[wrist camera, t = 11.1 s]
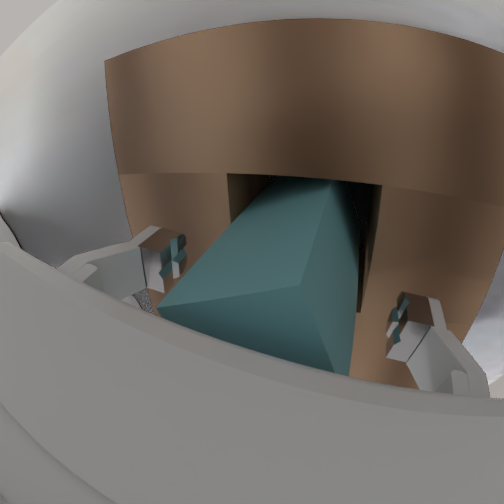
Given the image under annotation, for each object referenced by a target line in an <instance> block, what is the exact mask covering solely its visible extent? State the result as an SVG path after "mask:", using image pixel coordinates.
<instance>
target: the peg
mask: <svg viewBox="0 0 504 504" xmlns="http://www.w3.org/2000/svg"><path fill="white" fill-rule="evenodd" d="M358 269H359V218H358V214H357V211H356V208H355V205H354V202H353V198H352V195H351V192H350V189H349V186H348V184H347V181H343V180H333V179H322V178H310V177H296V176H278V177H275V178H274V179H273V180H272V181H271V182H270V183H269V184H268V185H267V186H266V187H265V188H264V189H263V191H262V192H261V193H260V194H259V195H258V196H257V197H256V198H255V199H254V200H253V201H252V202H251V203H250V204H249V205H248V206H247V207H246V208H245V209H244V211H243V212H242V213H241V214H240V215H239V216H238V217H237V218H236V219H235V220H234V221H233V222H232V223H231V224H230V226H229V227H228V228H227V229H226V230H225V231H224V232H223V233H222V234H221V235H220V236H219V237H218V239H217V240H216V241H215V242H214V243H213V244H212V245H211V246H210V247H209V248H208V249H207V251H206V252H205V253H204V254H203V255H202V256H201V257H200V258H199V259H198V261H197V262H196V263H195V264H194V265H193V266H192V267H191V268H190V269H189V271H188V272H187V273H186V274H185V275H184V276H183V277H182V278H181V280H180V281H179V282H178V283H177V284H176V285H175V286H174V287H173V289H172V290H171V291H170V292H169V293H168V294H167V295H166V297H165V298H164V299H163V300H162V301H161V302H160V303H159V305H158V306H157V307H156V309H157V310H158V312H159V313H160V315H161V316H162V318H164V319H166V320H169V321H171V322H174V323H176V324H179V325H182V326H184V327H187V328H189V329H192V330H195V331H198V332H200V333H203V334H206V335H209V336H212V337H214V338H217V339H220V340H223V341H226V342H229V343H232V344H235V345H238V346H241V347H244V348H247V349H250V350H254V351H257V352H260V353H263V354H267V355H270V356H273V357H277V358H280V359H284V360H287V361H291V362H294V363H298V364H301V365H305V366H309V367H313V368H317V369H320V370H324V371H328V372H333V373H337V374H341V375H345V376H349V372H350V365H351V357H352V348H353V339H354V329H355V318H356V305H357V290H358Z"/></svg>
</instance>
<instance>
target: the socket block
mask: <svg viewBox="0 0 504 504" xmlns="http://www.w3.org/2000/svg"><path fill="white" fill-rule="evenodd" d="M105 76H106V88H107V99H108V108H109V117H110V124H111V132H112V139H113V145H114V152H115V158H116V163H117V169H118V174H119V180H120V185H121V190H122V195H123V199H124V204H125V208H126V213H127V217H128V221H129V226H130V230H131V234H132V238H134V237H135V236H137V235H138V234H139V233H141V232H142V231H143V230H145V229H146V228H147V227H149V226H157V227H161V228H164V229H168V230H171V231H175V232H178V233H182V234H184V235H185V236H186V243H187V245H186V246H185V247H184V248H183V249H184V250H185V252H186V254H187V264H186V267H185V270H184V272H183V273H182V274H181V276H180V277H177V278H174V279H173V281H174V284H173V285H172V286H171V287H170V288H169V289H168V290H167V291H166V292H165V293H162V292H159V291H156V290H153V289H150V288H147V287H146V288H147V291H148V294H149V297H150V300H151V303H152V306H153V309H154V312H155V315H156V316H159V317H161V318H162V316H161V315H160V313H159V312H158V310H157V309H156V307H157V306H158V305H159V303H160V302H161V301H162V300H163V299H164V298H165V297H166V295H167V294H168V293H169V292H170V291H171V290H172V289H173V287H174V286H175V285H176V284H177V283H178V282H179V281H180V280H181V278H182V277H183V276H184V275H185V274H186V273H187V272H188V271H189V269H190V268H191V267H192V266H193V265H194V264H195V263H196V262H197V261H198V259H199V258H200V257H201V256H202V255H203V254H204V253H205V252H206V251H207V249H208V248H209V247H210V246H211V245H212V244H213V243H214V242H215V241H216V240H217V239H218V237H219V236H220V235H221V234H222V233H223V232H224V231H225V230H226V229H227V228H228V227H229V226H230V224H231V223H232V222H233V221H234V220H235V219H236V218H237V217H238V216H239V215H240V214H241V213H242V212H243V211H244V209H245V208H246V207H247V206H248V205H249V204H250V203H251V202H252V201H253V200H254V199H255V198H256V197H257V196H258V195H259V194H260V193H261V192H262V191H263V189H264V188H265V187H266V186H267V185H268V184H269V183H270V181H269V175H281V176H296V177H310V178H322V179H333V180H343V181H352V182H361V183H369V184H371V187H370V197H369V206H368V215H367V223H366V230H365V238H364V245H363V249H359V269H358V290H357V305H356V318H355V329H354V339H353V348H352V357H351V365H350V372H349V376H350V377H354V378H359V379H363V380H368V381H373V382H378V383H383V384H388V385H394V386H400V387H406V388H412V389H418V390H420V389H419V387H418V385H417V383H416V381H415V379H414V377H413V375H412V373H411V371H410V370H409V368H408V366H407V364H406V363H407V362H403V361H398V360H394V359H390V358H386V342H387V341H388V339H389V338H388V337H387V335H386V324H387V321H388V317H389V315H390V313H391V310H392V309H393V308H395V307H397V298H398V296H399V294H400V293H401V292H402V291H404V292H408V293H412V294H416V295H421V296H425V297H430V298H435V299H438V300H439V301H440V304H441V307H442V311H443V315H444V319H445V323H446V328H447V330H449V331H451V332H452V333H453V334H454V335H455V337H456V338H457V339H458V340H459V341H460V343H461V344H462V342H463V340H464V338H465V337H466V335H467V333H468V331H469V329H470V327H471V325H472V323H473V321H474V319H475V317H476V315H477V313H478V311H479V309H480V307H481V305H482V303H483V300H484V298H485V296H486V294H487V291H488V289H489V286H490V284H491V282H492V279H493V277H494V274H495V271H496V269H497V266H498V263H499V261H500V258H501V255H502V252H503V249H504V54H503V53H501V52H498V51H496V50H493V49H491V48H488V47H485V46H482V45H479V44H476V43H473V42H470V41H467V40H464V39H461V38H457V37H454V36H450V35H446V34H442V33H438V32H434V31H430V30H425V29H420V28H415V27H410V26H404V25H398V24H391V23H383V22H375V21H364V20H351V19H323V18H313V19H284V20H271V21H260V22H252V23H244V24H237V25H230V26H224V27H219V28H213V29H208V30H203V31H199V32H194V33H190V34H186V35H182V36H178V37H174V38H170V39H167V40H163V41H160V42H156V43H153V44H150V45H147V46H144V47H141V48H138V49H135V50H132V51H129V52H126V53H124V54H121V55H118V56H116V57H113V58H111V59H108V60H106V61H105Z"/></svg>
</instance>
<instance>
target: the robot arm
mask: <svg viewBox="0 0 504 504" xmlns="http://www.w3.org/2000/svg"><path fill="white" fill-rule="evenodd" d="M186 245H187V243H186V236H185V235H184V234H182V233H178V232H175V231H171V230H168V229H164V228H161V227H157V226H149V227H147V228H146V229H145V230H143V231H142V232H141V233H139V234H138V235H137V236H135V237H134V238H133V239H131V240H130V241H129V242H127V243H125V242H123V243H119V244H115V245H111V246H107V247H103V248H100V249H96V250H92V251H88V252H85V253H81V254H77V255H74V256H72V257H71V258H70V259H68V260H67V261H66V262H64V263H63V264H62V265H60V266H59V267H58V268H57V269H56V268H54V267H52V266H50V265H48V264H46V263H44V262H43V261H41V260H39V259H37V258H35V257H34V256H32V255H30V254H28V253H27V252H25V251H23V250H21V248H20V246H19V244H18V242H17V240H16V239H15V237H14V235H13V233H12V232H11V230H10V229H9V227H8V226H7V225H6V223H5V222H4V221H3V219H2V218H1V216H0V504H504V399H503V398H502V399H501V398H490V392H489V387H488V382H487V377H486V373H485V372H484V371H483V370H482V368H481V367H480V366H479V365H478V363H477V362H476V361H475V360H474V358H473V357H472V356H471V355H470V353H469V352H468V351H467V350H466V349H465V347H464V346H463V345H462V344H461V343H460V341H459V340H458V339H457V338H456V337H455V335H454V334H453V333H452V332H451V331H449V330H447V328H446V323H445V319H444V315H443V311H442V307H441V304H440V301H439V300H438V299H435V298H430V297H425V296H421V295H416V294H412V293H408V292H404V291H402V292H401V293H400V294H399V296H398V298H397V307H395V308H393V309H392V310H391V313H390V315H389V317H388V321H387V324H386V335H387V337H388V338H389V339H388V341H387V342H386V358H390V359H394V360H398V361H403V362H407V363H406V364H407V366H408V368H409V370H410V371H411V373H412V375H413V377H414V379H415V381H416V383H417V385H418V387H419V389H420V390H418V389H412V388H406V387H400V386H394V385H388V384H383V383H378V382H373V381H368V380H363V379H359V378H354V377H350V376H345V375H341V374H337V373H333V372H328V371H324V370H320V369H317V368H313V367H309V366H305V365H301V364H298V363H294V362H291V361H287V360H284V359H280V358H277V357H273V356H270V355H267V354H263V353H260V352H257V351H254V350H250V349H247V348H244V347H241V346H238V345H235V344H232V343H229V342H226V341H223V340H220V339H217V338H214V337H212V336H209V335H206V334H203V333H200V332H198V331H195V330H192V329H189V328H187V327H184V326H182V325H179V324H176V323H174V322H171V321H169V320H166V319H164V318H161V317H159V316H156V315H154V314H151V313H149V312H147V311H144V310H142V309H140V308H137V307H135V306H133V305H130V304H128V303H126V302H123V301H121V300H122V299H124V298H126V297H128V296H131V295H133V294H135V293H137V292H139V291H141V290H143V289H146V287H147V288H150V289H153V290H156V291H159V292H162V293H165V292H166V291H167V290H168V289H169V288H170V287H171V286H172V285H173V284H174V281H173V279H174V278H177V277H180V276H181V274H182V273H183V272H184V270H185V267H186V264H187V254H186V252H185V250H184V249H183V248H184V247H185V246H186Z"/></svg>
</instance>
